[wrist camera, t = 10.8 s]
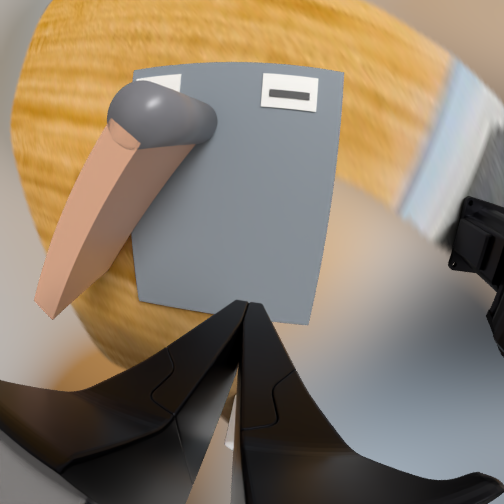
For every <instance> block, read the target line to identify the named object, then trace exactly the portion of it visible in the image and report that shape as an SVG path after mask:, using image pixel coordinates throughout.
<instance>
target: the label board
mask: <svg viewBox="0 0 504 504" xmlns="http://www.w3.org/2000/svg"><path fill="white" fill-rule="evenodd" d="M139 80H146V81H151V82H154V83H156V84H159V85H162V86H165V87H167V88H170V89H172V90H175V91H178V92H180V93H183V94H185V95H188V96H190V97H193V98H195V99H197V100H200V101H202V102H204V103H207V104H208V105H210V106H211V107H212V108H213V109H214V111H215V112H216V115H217V120H218V122H217V128H216V131H215V132H214V134H213V135H212V137H211V138H210V139H208V140H207V141H205V142H203V143H200V144H196V145H195V146H194V147H193V148H192V150H191V151H190V152H189V153H188V155H187V156H186V157H185V158H184V160H183V161H182V162H181V164H180V165H179V166H178V167H177V169H176V170H175V171H174V173H173V174H172V175H171V177H170V178H169V179H168V181H167V182H166V183H165V185H164V186H163V187H162V189H161V190H160V192H159V193H158V194H157V196H156V197H155V199H154V200H153V201H152V203H151V204H150V206H149V207H148V209H147V210H146V211H145V213H144V214H143V216H142V217H141V219H140V220H139V222H138V223H137V225H136V226H135V228H134V229H133V231H132V232H131V235H132V247H133V257H134V266H135V274H136V282H137V290H138V297H139V301H143V302H149V303H154V304H159V305H164V306H170V307H175V308H181V309H187V310H193V311H199V312H205V313H212V314H216V313H217V312H218V311H220V310H221V309H223V308H224V307H226V306H227V305H229V304H230V303H231V302H233V301H234V300H243V301H248V303H250V302H256V303H262V304H263V306H264V308H265V310H266V312H267V314H268V316H269V318H270V320H271V322H280V323H290V324H299V325H308V324H309V320H310V315H311V310H312V306H313V301H314V297H315V292H316V287H317V282H318V277H319V272H320V266H321V261H322V256H323V250H324V244H325V239H326V233H327V227H328V220H329V213H330V208H331V200H332V194H333V186H334V179H335V171H336V163H337V154H338V144H339V135H340V124H341V112H342V98H343V82H344V72H338V71H332V70H326V69H320V68H312V67H305V66H296V65H285V64H272V63H251V62H214V63H193V64H180V65H170V66H161V67H153V68H146V69H140V70H134V74H133V82H134V81H139Z"/></svg>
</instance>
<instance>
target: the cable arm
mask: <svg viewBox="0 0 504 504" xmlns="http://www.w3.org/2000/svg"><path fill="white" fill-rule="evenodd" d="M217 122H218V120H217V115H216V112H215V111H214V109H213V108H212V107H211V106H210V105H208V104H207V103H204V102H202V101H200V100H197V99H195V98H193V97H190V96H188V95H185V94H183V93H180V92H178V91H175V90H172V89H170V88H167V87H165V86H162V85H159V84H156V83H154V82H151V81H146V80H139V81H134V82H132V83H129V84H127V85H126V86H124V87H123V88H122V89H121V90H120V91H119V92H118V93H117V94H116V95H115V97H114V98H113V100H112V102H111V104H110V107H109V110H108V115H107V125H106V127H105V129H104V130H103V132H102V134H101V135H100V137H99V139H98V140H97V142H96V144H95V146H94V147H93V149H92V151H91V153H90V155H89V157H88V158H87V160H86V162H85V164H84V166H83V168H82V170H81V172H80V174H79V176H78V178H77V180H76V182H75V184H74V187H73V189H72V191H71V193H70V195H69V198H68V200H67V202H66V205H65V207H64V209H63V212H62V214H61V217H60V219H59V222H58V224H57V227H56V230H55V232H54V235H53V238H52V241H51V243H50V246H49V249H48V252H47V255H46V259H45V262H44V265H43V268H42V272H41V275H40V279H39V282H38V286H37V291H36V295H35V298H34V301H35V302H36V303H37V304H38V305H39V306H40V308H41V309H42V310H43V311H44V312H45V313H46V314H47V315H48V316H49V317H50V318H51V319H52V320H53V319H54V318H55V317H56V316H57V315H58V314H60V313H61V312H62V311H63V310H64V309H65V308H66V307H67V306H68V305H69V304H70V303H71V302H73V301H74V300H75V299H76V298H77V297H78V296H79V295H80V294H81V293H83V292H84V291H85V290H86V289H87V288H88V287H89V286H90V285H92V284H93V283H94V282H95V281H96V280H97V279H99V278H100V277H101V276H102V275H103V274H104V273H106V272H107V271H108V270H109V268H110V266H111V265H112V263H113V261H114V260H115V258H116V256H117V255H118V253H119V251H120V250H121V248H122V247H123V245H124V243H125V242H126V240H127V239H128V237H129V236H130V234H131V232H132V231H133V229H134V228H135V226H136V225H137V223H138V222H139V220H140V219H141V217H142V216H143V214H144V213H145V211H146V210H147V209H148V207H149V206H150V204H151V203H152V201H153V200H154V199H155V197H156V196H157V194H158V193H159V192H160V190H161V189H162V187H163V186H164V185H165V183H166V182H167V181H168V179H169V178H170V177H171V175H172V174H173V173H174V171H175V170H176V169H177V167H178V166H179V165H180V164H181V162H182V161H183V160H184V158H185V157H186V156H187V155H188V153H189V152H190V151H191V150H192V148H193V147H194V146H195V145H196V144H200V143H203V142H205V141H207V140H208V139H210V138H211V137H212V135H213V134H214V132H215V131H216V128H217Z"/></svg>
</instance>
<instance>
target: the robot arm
mask: <svg viewBox="0 0 504 504" xmlns="http://www.w3.org/2000/svg"><path fill="white" fill-rule="evenodd" d="M469 201H471V203H470V204H469ZM454 262H455V263H454ZM453 263H454V265H453ZM452 265H453V266H452ZM448 266H449V268H451V269H452V270H457V271H464V272H472V273H477V274H478V275H479V276H480V277H481V278H482V279H483V280H484V281H485V282H487V284H489V285H490V286H491V287H492V288H493V289H494V290H495V291H496V292H497V293H496V296H495V299H494V301H493V303H492V306H491V308H490V310H488V312H487V315H486V317H487V320H488V322H489V324H490V327H491V330H492V332H493V337H494V340H495V342H496V343H497V346H498V348H499V350H500V352H501V355H502V356H503V357H504V207H501V206H498V205H495V204H492V203H489V202H486V201H483V200H480V199H477V198H474V197H470V196H468V197H466V198H465V201H464V205H463V210H462V214H461V219H460V223H459V227H458V231H457V235H456V238H455V242H454V246H453V249H452V253H451V256H450V259H449V262H448ZM238 365H239V366H238ZM237 369H238V377H237V394H236V412H235V429H234V448H233V466H232V486H231V504H488V503H489V502H491V501H493V500H494V499H496V498H497V497H499V496H500V495H501V494H502V493H504V485H503V483H502V482H501V481H499V480H498V479H496V478H494V477H492V476H489V475H486V474H483V473H480V472H473V473H470V474H467V475H464V476H461V477H458V478H455V479H450V480H432V479H426V478H422V477H419V476H415V475H412V474H409V473H406V472H403V471H400V470H397V469H394V468H392V467H389V466H386V465H383V464H381V463H378V462H375V461H373V460H371V459H368V458H366V457H363V456H361V455H359V454H358V453H356V452H355V451H354V450H352V449H351V448H350V447H349V446H348V445H347V444H346V443H345V442H344V440H343V439H342V438H341V437H340V435H339V434H338V433H337V432H336V430H335V429H334V427H333V426H332V425H331V423H330V422H329V421H328V419H327V418H326V417H325V415H324V414H323V413H322V411H321V410H320V409H319V407H318V406H317V404H316V403H315V401H314V400H313V398H312V397H311V396H310V394H309V392H308V391H307V389H306V387H305V386H304V384H303V382H302V380H301V378H300V376H299V374H298V372H297V371H296V369H295V367H294V365H293V363H292V361H291V359H290V357H289V356H288V353H287V351H286V349H285V347H284V345H283V343H282V342H281V339H280V337H279V335H278V334H277V332H276V329H275V327H274V326H273V324H272V322H271V320H270V318H269V316H268V314H267V312H266V310H265V308H264V306H263V304H262V303H256V302H250V303H248V301H243V300H234V301H233V302H231V303H230V304H229V305H227V306H226V307H224V308H223V309H221V310H220V311H218V312H217V313H216V314H214V315H213V316H211V317H210V318H208V319H207V320H205V321H204V322H202V323H201V324H200V325H198V326H197V327H195V328H194V329H192V330H191V331H189V332H188V333H186V334H185V335H183V336H182V337H180V338H179V339H177V340H176V341H174V342H173V343H171V344H170V345H168V346H167V348H164V349H162V350H161V351H159V352H158V353H156V354H154V355H153V356H151V357H149V358H148V359H146V360H145V361H143V362H141V363H139V364H137V365H135V366H133V367H132V368H130V369H128V370H126V371H124V372H122V373H120V374H117V375H115V376H113V377H111V378H109V379H107V380H105V381H103V382H101V383H98V384H96V385H94V386H92V387H89V388H87V389H84V390H80V391H74V392H65V391H57V390H49V389H42V388H36V387H31V386H25V385H20V384H15V383H10V382H6V381H1V380H0V504H185V503H186V501H187V498H188V496H189V494H190V491H191V489H192V485H193V484H194V481H195V479H196V476H197V474H198V471H199V469H200V466H201V464H202V461H203V459H204V456H205V454H206V451H207V449H208V446H209V444H210V441H211V438H212V436H213V433H214V430H215V428H216V425H217V423H218V420H219V418H220V415H221V412H222V410H223V407H224V404H225V402H226V399H227V396H228V394H229V391H230V388H231V386H232V383H233V380H234V377H235V375H236V372H237Z"/></svg>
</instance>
